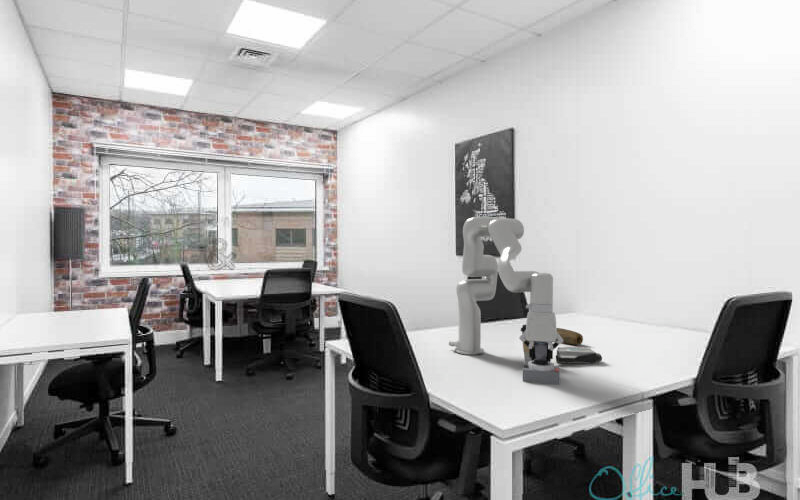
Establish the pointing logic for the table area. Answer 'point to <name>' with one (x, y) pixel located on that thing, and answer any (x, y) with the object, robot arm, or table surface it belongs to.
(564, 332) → the brown wooden cylinder
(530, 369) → the camera body
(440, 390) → the table surface
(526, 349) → the coffee cup
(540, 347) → the lens
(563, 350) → the grey plastic handled piece
